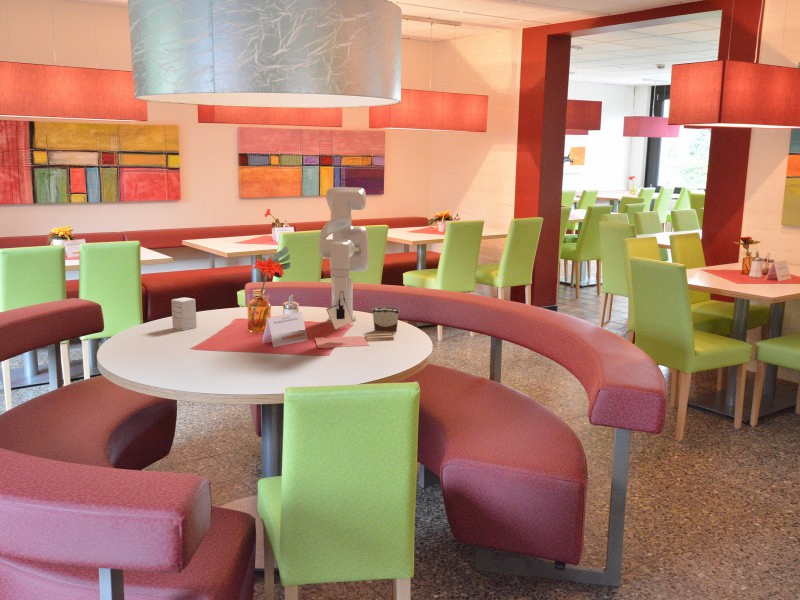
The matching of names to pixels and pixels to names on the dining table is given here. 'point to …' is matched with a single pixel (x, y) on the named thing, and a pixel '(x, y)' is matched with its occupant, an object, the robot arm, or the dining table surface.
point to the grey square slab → (339, 322)
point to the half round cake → (385, 318)
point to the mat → (341, 342)
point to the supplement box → (184, 313)
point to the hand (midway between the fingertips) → (340, 318)
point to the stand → (379, 337)
